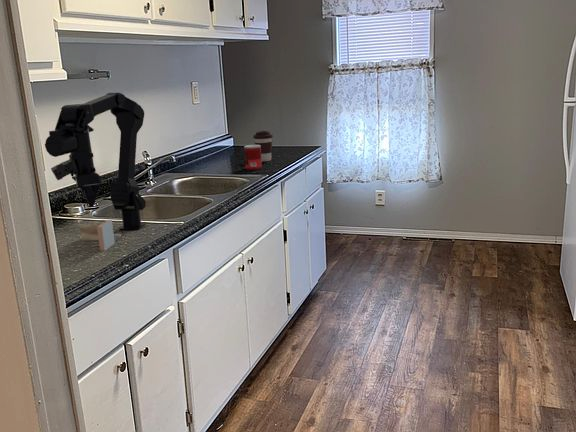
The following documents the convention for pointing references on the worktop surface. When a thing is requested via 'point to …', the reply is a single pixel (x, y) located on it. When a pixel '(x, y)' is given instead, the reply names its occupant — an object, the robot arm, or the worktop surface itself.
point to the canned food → (253, 157)
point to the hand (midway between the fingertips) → (89, 203)
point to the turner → (92, 233)
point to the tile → (105, 235)
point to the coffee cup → (264, 144)
